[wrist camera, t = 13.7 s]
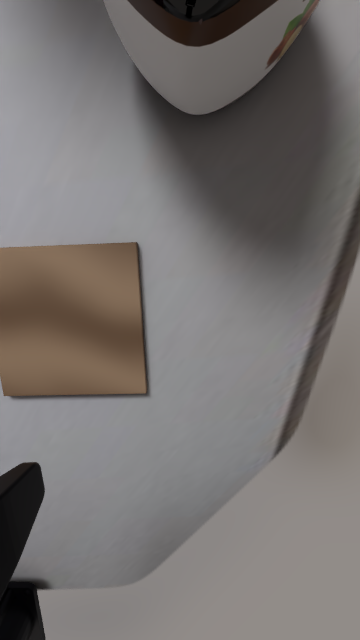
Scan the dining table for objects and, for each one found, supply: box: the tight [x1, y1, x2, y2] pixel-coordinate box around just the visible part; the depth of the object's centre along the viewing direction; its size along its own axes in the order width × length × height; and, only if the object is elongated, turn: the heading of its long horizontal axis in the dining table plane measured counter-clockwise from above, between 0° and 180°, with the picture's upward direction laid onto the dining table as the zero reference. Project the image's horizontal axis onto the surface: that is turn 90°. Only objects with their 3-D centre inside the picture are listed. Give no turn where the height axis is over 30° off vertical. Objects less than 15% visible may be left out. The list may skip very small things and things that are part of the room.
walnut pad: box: [0, 242, 147, 396], centre depth 19 cm, size 10×10×1 cm
